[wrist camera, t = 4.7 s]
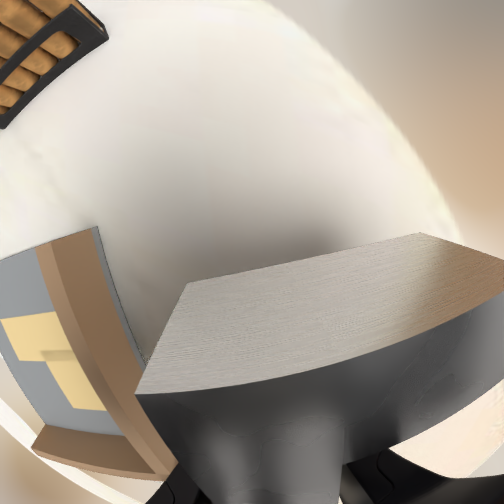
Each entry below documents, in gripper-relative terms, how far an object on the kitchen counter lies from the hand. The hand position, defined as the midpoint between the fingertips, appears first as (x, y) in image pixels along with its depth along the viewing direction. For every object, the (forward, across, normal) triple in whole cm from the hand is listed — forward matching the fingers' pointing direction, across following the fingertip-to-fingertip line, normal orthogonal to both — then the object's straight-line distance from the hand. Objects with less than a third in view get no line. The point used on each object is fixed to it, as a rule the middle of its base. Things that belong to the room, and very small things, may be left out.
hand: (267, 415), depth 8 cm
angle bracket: (+1, -3, -2) cm, 3 cm away
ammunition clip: (+8, +11, -19) cm, 24 cm away
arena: (+8, +16, +2) cm, 18 cm away
